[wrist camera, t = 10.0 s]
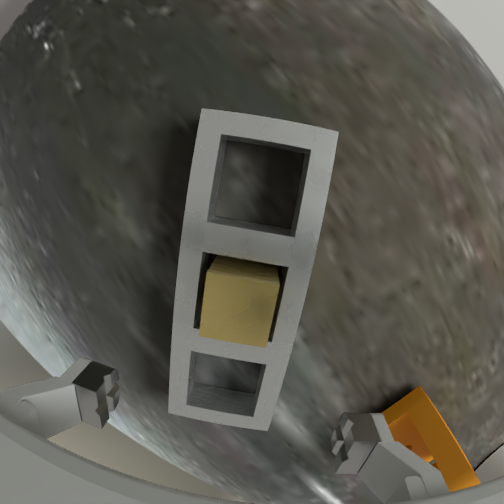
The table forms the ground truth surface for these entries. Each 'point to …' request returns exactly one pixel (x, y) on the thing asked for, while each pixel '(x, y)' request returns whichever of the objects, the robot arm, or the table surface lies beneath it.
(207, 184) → the grey rectangular frame
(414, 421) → the bracket
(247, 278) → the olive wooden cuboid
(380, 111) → the table surface
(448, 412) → the table surface
